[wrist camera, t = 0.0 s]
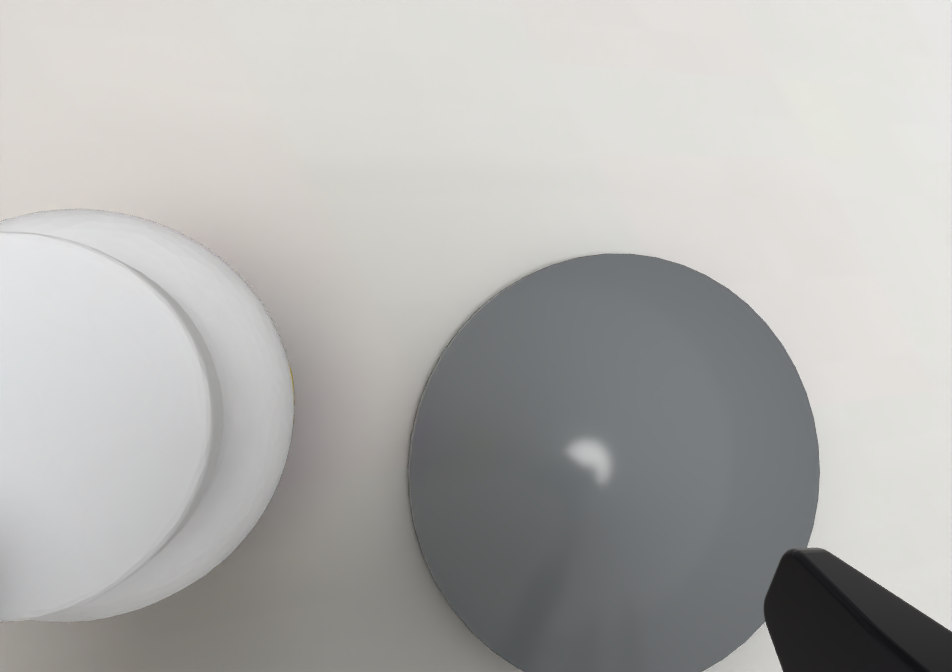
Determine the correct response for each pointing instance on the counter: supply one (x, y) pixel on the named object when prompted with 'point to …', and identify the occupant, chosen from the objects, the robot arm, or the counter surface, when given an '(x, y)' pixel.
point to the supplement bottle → (128, 413)
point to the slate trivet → (612, 468)
